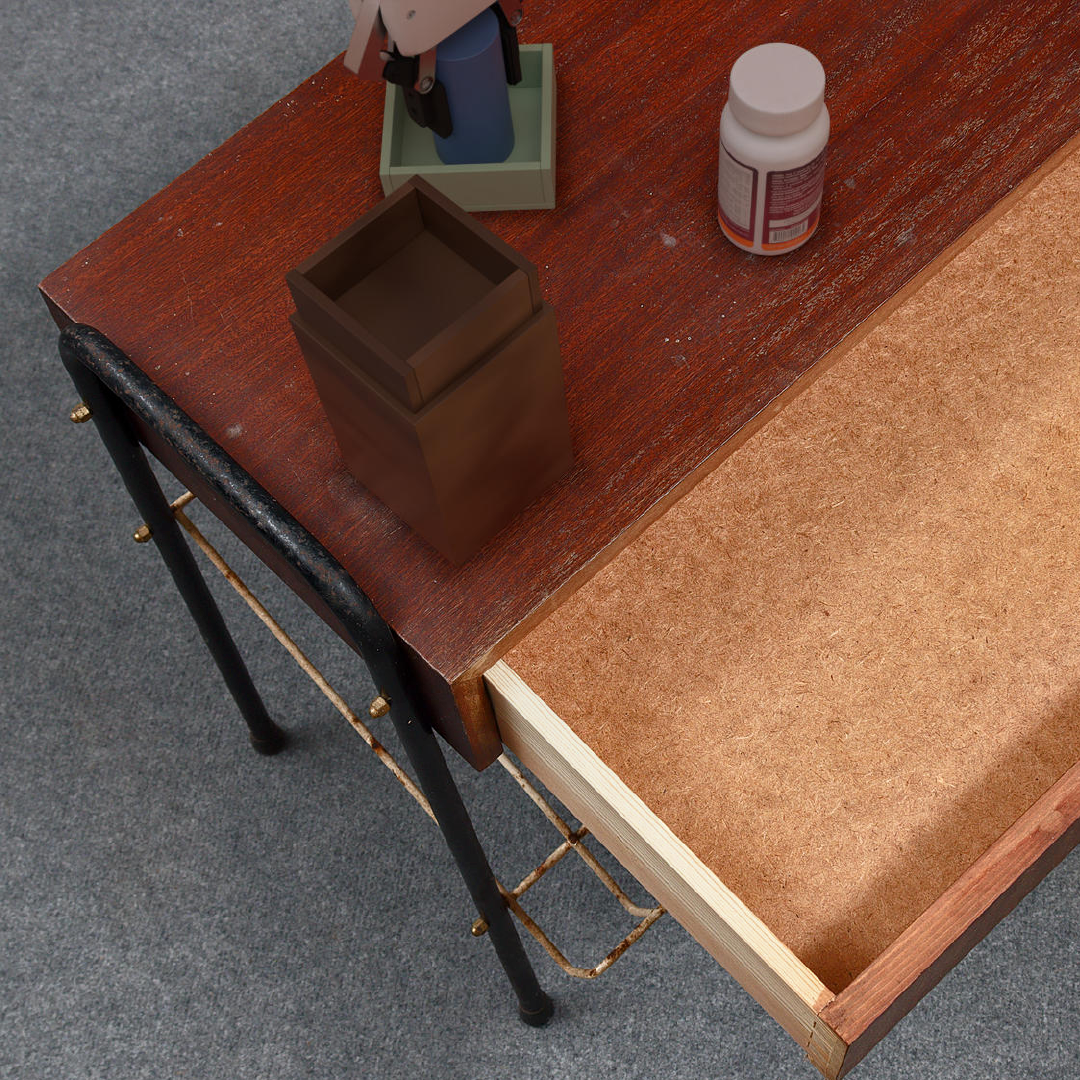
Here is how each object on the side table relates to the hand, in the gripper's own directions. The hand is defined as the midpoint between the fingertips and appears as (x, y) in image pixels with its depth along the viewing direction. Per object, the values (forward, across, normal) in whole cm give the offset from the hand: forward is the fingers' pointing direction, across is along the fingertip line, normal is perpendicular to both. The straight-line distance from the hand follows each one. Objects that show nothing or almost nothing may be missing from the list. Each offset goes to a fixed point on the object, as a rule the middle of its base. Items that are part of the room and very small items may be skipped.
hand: (466, 96), depth 88 cm
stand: (+4, +17, +17) cm, 24 cm away
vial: (+4, 0, 0) cm, 4 cm away
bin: (+4, 0, 0) cm, 4 cm away
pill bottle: (+5, -8, +17) cm, 20 cm away
